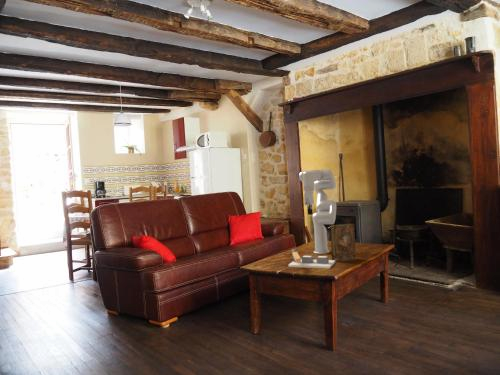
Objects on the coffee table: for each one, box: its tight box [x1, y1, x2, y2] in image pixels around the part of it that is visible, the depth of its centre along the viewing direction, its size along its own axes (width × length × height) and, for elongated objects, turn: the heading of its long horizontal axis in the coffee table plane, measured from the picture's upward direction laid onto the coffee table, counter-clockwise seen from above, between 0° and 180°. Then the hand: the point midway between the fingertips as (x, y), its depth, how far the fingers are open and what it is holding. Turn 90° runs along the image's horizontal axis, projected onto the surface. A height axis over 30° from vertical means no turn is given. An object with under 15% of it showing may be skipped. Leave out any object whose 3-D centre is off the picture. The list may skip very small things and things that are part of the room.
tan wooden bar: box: [291, 248, 302, 263], centre depth 275 cm, size 4×26×4 cm, turn 179°
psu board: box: [288, 255, 336, 270], centre depth 282 cm, size 18×28×6 cm, turn 67°
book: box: [330, 223, 357, 263], centre depth 290 cm, size 16×6×25 cm, turn 101°
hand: (310, 214), depth 294 cm, fingers closed
